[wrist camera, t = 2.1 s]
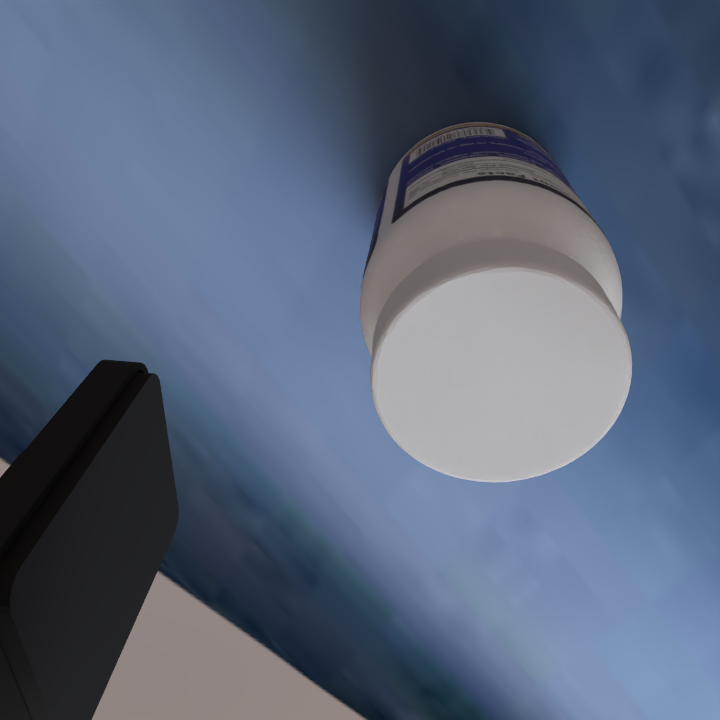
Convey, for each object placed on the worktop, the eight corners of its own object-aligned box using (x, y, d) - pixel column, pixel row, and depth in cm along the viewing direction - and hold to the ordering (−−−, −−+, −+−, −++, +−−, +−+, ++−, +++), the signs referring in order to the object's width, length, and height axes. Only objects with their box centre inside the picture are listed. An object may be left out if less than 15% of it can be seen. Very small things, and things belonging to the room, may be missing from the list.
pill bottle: (493, 324, 22) (527, 546, 13) (348, 241, 21) (285, 423, 12) (606, 181, 19) (743, 346, 10) (445, 77, 18) (451, 166, 9)
